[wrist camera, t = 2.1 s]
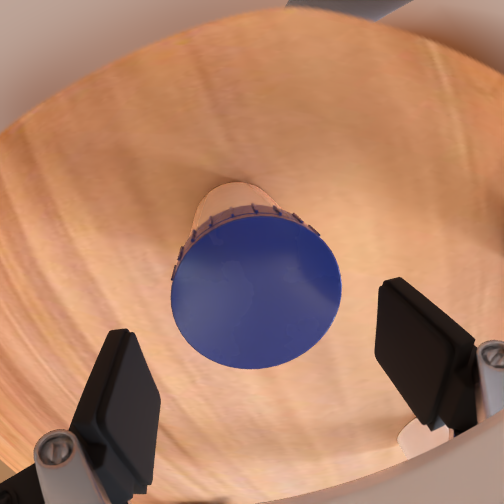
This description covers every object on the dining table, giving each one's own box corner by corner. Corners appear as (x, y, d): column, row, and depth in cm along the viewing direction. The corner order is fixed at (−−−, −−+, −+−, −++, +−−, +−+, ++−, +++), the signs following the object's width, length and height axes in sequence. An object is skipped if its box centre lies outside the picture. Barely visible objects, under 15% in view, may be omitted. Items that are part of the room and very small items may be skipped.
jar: (211, 169, 21) (210, 195, 11) (292, 200, 22) (355, 251, 12) (182, 249, 22) (162, 334, 12) (259, 275, 24) (292, 368, 14)
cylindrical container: (439, 403, 34) (528, 534, 10) (439, 426, 36) (512, 542, 13) (394, 429, 34) (472, 574, 11) (399, 450, 36) (463, 575, 13)
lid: (205, 178, 12) (203, 186, 10) (351, 236, 14) (371, 251, 12) (157, 320, 14) (150, 346, 12) (289, 356, 15) (298, 382, 13)
